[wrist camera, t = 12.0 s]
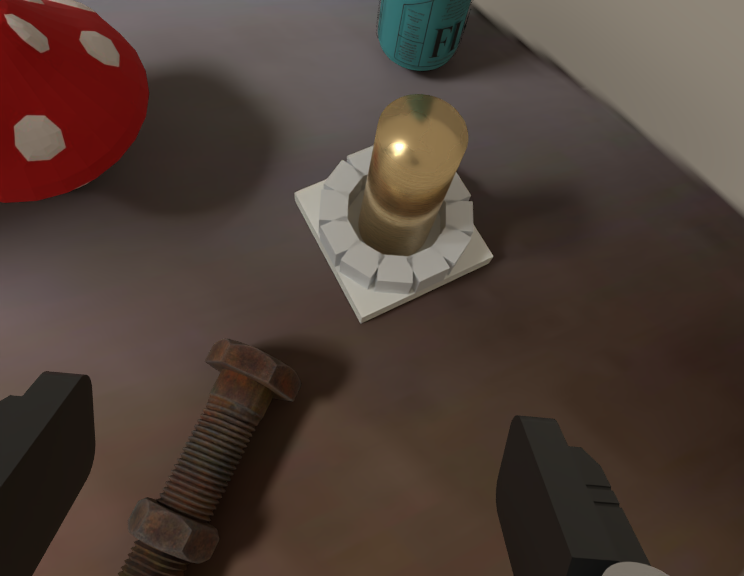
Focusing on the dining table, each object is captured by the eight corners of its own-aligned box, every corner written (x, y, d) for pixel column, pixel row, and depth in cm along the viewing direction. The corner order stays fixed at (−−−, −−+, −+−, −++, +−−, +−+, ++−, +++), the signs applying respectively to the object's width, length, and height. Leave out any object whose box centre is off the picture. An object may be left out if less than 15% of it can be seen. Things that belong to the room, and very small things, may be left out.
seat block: (360, 323, 44) (364, 307, 41) (294, 200, 46) (293, 177, 43) (488, 263, 46) (501, 243, 43) (419, 149, 49) (426, 124, 46)
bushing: (379, 269, 44) (405, 186, 34) (345, 210, 45) (361, 112, 35) (441, 240, 45) (485, 152, 35) (406, 184, 46) (439, 82, 36)
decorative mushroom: (-7, 292, 42) (-163, 167, 28) (-69, 124, 46) (-232, -58, 32) (202, 207, 46) (156, 59, 32) (129, 58, 50) (59, -133, 36)
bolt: (137, 599, 39) (254, 366, 44) (197, 639, 36) (316, 386, 41) (61, 586, 34) (202, 328, 39) (124, 631, 31) (267, 347, 36)
